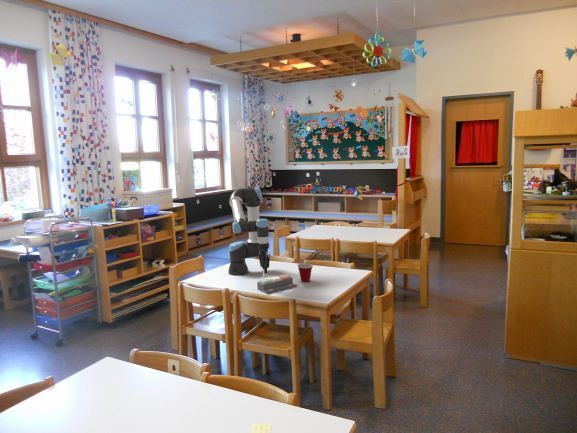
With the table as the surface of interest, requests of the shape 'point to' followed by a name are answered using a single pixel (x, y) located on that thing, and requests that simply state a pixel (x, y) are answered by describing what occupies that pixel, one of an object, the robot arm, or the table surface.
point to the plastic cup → (305, 271)
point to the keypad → (276, 286)
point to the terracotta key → (284, 277)
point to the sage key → (265, 281)
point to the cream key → (275, 279)
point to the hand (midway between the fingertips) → (265, 277)
